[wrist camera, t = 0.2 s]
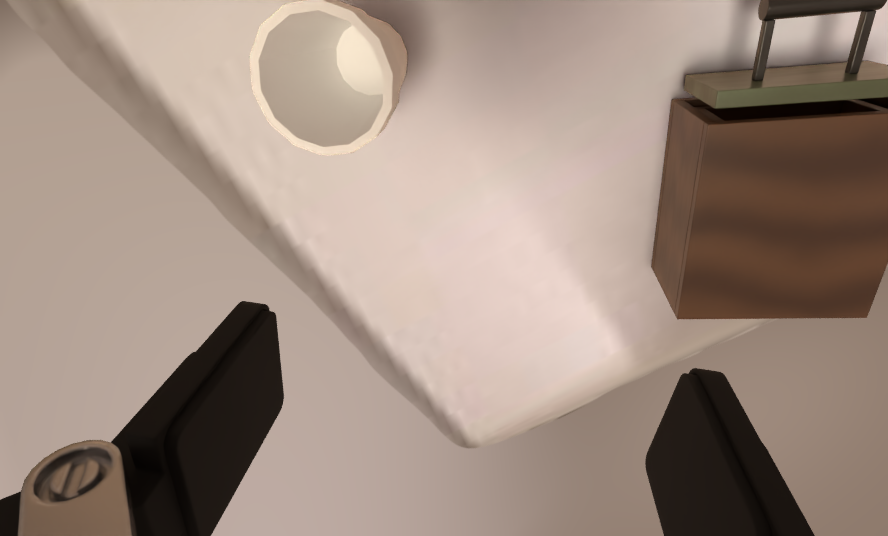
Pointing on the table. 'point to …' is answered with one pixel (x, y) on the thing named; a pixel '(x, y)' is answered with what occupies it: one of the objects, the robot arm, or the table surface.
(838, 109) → the drawer
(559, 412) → the table surface
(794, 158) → the cabinet
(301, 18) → the foam cup
